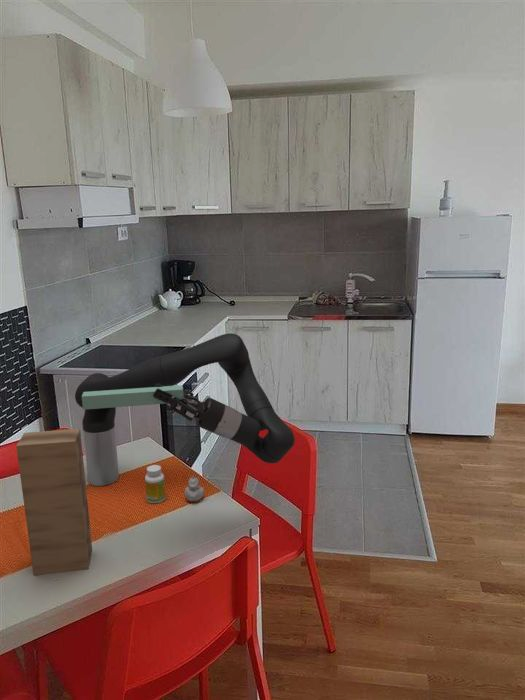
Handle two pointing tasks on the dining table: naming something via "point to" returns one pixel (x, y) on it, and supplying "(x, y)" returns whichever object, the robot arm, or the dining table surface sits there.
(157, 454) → the dining table surface
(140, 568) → the dining table surface
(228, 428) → the robot arm
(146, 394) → the rod
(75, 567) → the stand
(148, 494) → the supplement bottle
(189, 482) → the grey rounded piece
